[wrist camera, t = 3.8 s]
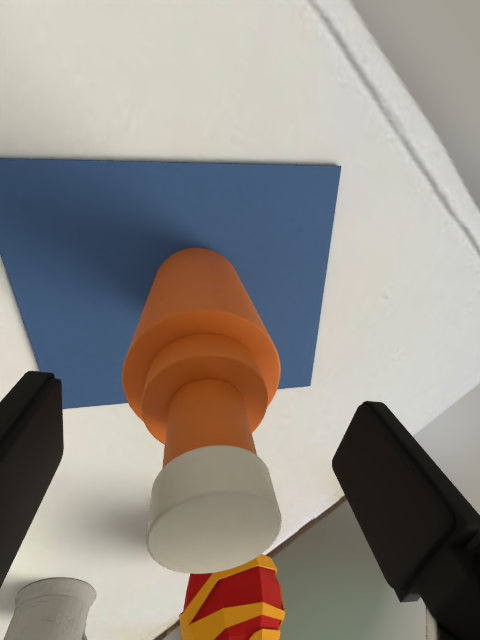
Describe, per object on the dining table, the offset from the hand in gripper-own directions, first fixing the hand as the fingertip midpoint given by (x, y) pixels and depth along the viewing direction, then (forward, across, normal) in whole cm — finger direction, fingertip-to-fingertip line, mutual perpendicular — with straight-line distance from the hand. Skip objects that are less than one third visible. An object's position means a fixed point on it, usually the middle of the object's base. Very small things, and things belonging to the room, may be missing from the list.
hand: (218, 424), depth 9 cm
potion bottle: (+14, -8, +30) cm, 34 cm away
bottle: (+14, 0, 0) cm, 14 cm away
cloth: (+14, +2, +1) cm, 14 cm away
